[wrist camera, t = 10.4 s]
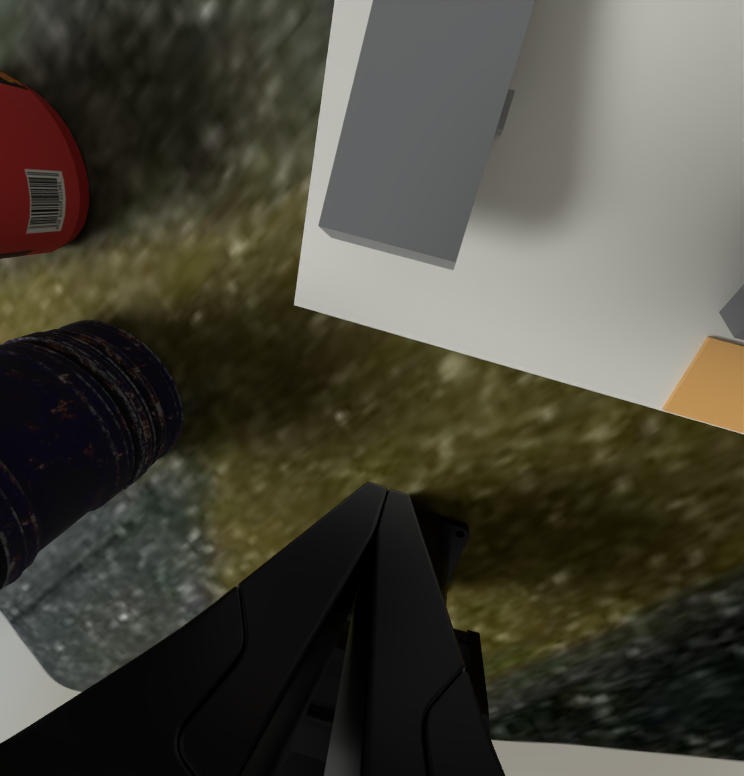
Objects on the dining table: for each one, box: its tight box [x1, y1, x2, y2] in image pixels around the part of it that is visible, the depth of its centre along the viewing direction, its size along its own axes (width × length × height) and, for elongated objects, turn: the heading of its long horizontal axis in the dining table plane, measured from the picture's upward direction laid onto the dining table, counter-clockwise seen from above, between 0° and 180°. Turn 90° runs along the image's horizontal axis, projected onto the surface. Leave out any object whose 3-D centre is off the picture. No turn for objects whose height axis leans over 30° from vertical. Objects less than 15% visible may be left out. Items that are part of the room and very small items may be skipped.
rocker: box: [318, 0, 535, 270], centre depth 11 cm, size 9×4×2 cm, turn 167°
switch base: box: [294, 0, 744, 434], centre depth 14 cm, size 16×20×4 cm
